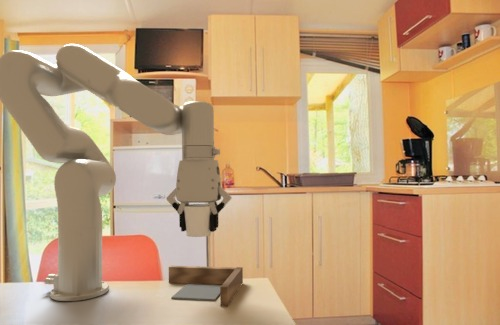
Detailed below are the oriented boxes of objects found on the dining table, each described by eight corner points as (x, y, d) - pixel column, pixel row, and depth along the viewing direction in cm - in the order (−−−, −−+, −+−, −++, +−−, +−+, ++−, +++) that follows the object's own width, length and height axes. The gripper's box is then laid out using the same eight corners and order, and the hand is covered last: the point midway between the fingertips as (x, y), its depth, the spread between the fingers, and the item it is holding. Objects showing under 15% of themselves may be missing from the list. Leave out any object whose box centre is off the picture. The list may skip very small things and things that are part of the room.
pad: (171, 298, 83) (171, 297, 83) (186, 285, 93) (186, 284, 93) (214, 301, 81) (214, 299, 81) (225, 287, 91) (225, 285, 91)
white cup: (179, 237, 85) (179, 206, 85) (190, 232, 91) (190, 203, 92) (208, 237, 83) (208, 206, 83) (217, 233, 90) (216, 204, 90)
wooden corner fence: (142, 302, 81) (142, 283, 81) (171, 280, 98) (171, 265, 98) (227, 306, 78) (227, 287, 78) (242, 283, 94) (242, 267, 95)
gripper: (237, 154, 90) (238, 228, 90) (169, 156, 93) (170, 228, 93) (230, 152, 83) (231, 233, 82) (157, 154, 86) (157, 232, 85)
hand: (199, 230), depth 87 cm, fingers closed on white cup, 6 cm apart
